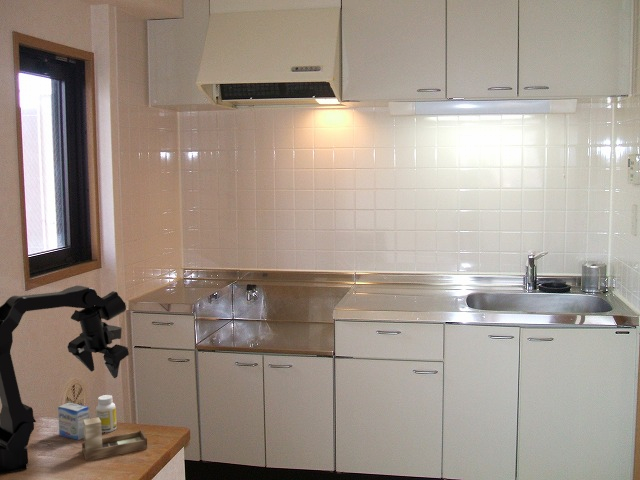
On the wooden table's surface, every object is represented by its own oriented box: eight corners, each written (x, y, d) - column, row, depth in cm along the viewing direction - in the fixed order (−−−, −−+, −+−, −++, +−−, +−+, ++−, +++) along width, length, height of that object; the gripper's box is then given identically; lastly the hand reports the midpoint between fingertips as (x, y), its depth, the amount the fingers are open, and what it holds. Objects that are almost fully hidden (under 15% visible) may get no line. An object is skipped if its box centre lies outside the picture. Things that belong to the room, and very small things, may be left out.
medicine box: (58, 435, 196) (57, 406, 195) (71, 430, 200) (69, 401, 199) (78, 440, 192) (76, 411, 191) (90, 435, 196) (89, 406, 195)
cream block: (87, 453, 181) (85, 425, 180) (84, 448, 184) (83, 419, 183) (102, 450, 183) (101, 422, 182) (100, 445, 186) (98, 417, 185)
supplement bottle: (110, 424, 204) (109, 392, 203) (120, 429, 200) (118, 396, 199) (93, 429, 200) (92, 397, 199) (103, 434, 196) (101, 401, 195)
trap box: (86, 460, 179) (85, 450, 179) (82, 450, 186) (81, 440, 185) (147, 448, 187) (146, 438, 186) (141, 439, 193) (141, 429, 192)
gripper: (136, 319, 194) (147, 365, 200) (89, 308, 203) (101, 353, 209) (108, 339, 185) (120, 387, 191) (60, 327, 194) (73, 373, 200)
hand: (104, 374), depth 198 cm, fingers open, 9 cm apart
